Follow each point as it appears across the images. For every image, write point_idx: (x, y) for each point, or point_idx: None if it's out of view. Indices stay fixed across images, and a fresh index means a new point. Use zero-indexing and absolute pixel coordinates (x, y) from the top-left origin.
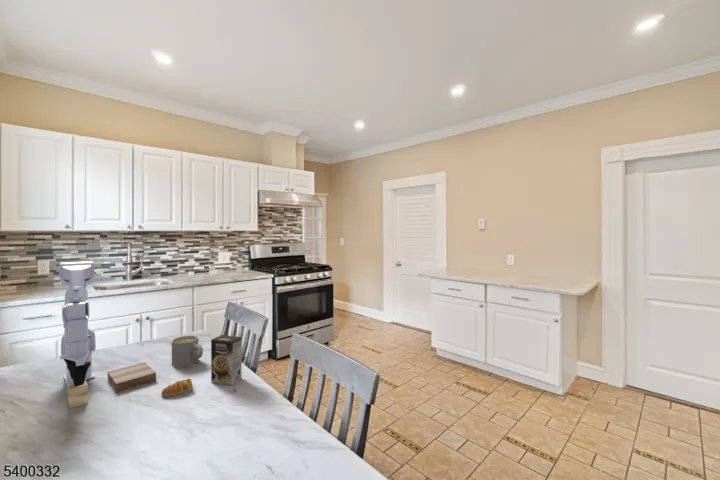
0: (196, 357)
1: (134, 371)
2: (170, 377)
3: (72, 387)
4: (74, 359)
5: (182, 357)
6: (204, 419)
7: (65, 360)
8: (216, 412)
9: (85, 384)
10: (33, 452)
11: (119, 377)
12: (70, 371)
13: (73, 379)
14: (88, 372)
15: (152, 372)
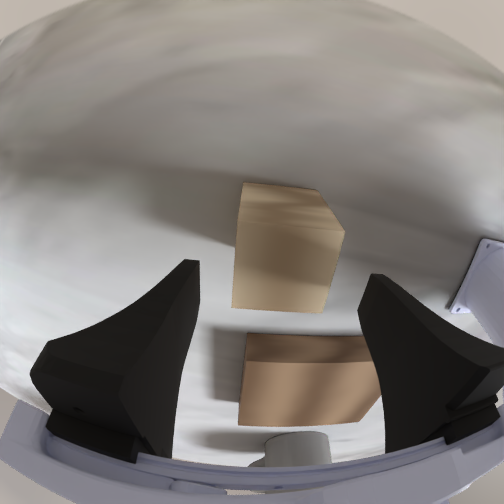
0: (255, 464)
1: (313, 405)
2: (229, 418)
3: (260, 243)
4: (36, 477)
5: (272, 461)
6: (2, 349)
7: (472, 371)
8: (16, 367)
9: (246, 301)
10: (3, 82)
11: (307, 376)
12: (71, 335)
13: (153, 288)
14: (473, 311)
15: (249, 422)
